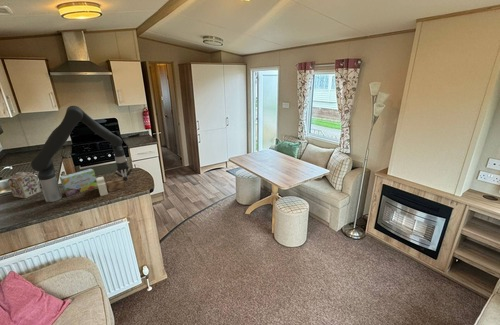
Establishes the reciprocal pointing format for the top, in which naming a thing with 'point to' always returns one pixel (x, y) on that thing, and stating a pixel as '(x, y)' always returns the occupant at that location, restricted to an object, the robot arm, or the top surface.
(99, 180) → the cream rectangular block
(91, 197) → the top surface
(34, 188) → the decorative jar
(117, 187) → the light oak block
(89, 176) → the snack box
